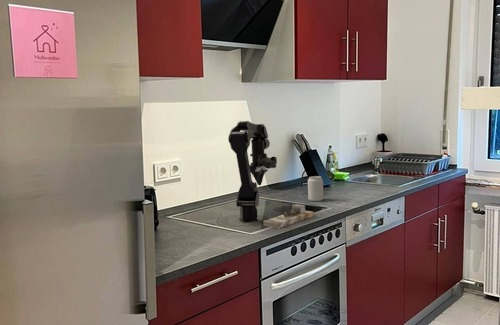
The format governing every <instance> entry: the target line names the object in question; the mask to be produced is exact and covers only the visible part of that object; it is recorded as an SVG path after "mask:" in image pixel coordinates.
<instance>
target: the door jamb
mask: <svg viewBox="0 0 500 325" xmlns="http://www.w3.org/2000/svg"><path fill="white" fill-rule="evenodd" d="M314 215H315V213H314V211H311V210H305V213H304V214H299V213H297V214H294V215H290V216H287V217H284V215H283V214H281V215H278V216H275V217H272V218H269V219H265V220H263V226H264V227H270V228H274V227H276V228H275V229H281V228H283V226H284V227H287V226H289V224H290V225H292V223H293V224H295V223H294V222H296V223H299V222H300V221H301V220H302V221H304V219H305V220H308V219H310V218H313V217H315V216H314ZM307 218H308V219H307ZM298 221H299V222H298ZM286 225H287V226H286ZM280 227H281V228H280Z"/></svg>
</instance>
